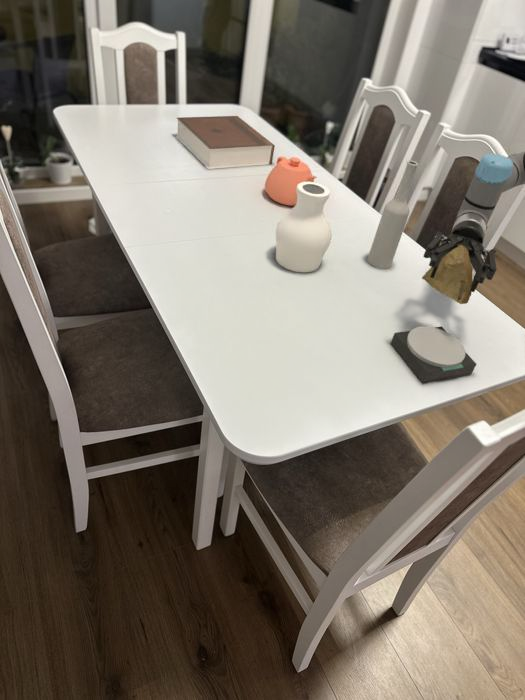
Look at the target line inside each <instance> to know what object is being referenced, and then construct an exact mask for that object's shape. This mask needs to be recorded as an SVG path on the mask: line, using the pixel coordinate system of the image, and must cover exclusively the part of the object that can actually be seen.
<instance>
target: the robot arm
mask: <svg viewBox="0 0 525 700" xmlns="http://www.w3.org/2000/svg"><path fill="white" fill-rule="evenodd" d="M474 171H475V172H474V174H473V176H472V179H471V182H470V184H469V186H468V189H467V191H466V194H465V196H464V198H463V200H462V202H461V205H460V207H459V208H458V211H457V213H456V218H455V221H454V223H453V226H452V229H451V232H450V234H449V235H447V236H445V235H443V232H441V231H436V234H435V236H434V238H433V239H432V240H431V242H430V243H429V244H428V245H427V246H426V248H425V251H424V253H423V256H422V257H423V258H424V259H430V261H429V263H428V266H429V267H430V268H431V267H434V268H433V271H432V273H431V276H430V277H431V278H434V276H435V274H436V271H437V269H438V266H439V264H440V261H441V259H442V258H443V257H444V256H445V255H446V254H447V253H449V252H451V251H452V250H453V249H455V248H456V247H458V246H459V245H463V246H464V247H465V248H466V249H467V250H468V252H469V257H470V264H471V266H472V269H473V270H474V273H475V274H474V276H473V278H472V280H473V283H472V287H471V293H475V291H476V290H477V288H478V286H479V284H480V285H482V284H484V283H485V282H484V281H485V280H486V279H487V280H489V281H492V280H493V278H494V276H495V274H496V272H497V270H498V269H497V263H496V258H495V255H496V253H497V250H496V249H493V248H491V249H488V250H487V249H485V247H484V245H483V244H484V240H485V235H486V232H487V227H488V224H489V221H490V219H491V218H492V216H493V213H494V210H495V209H496V206H497V204H498V202H499V200H500V198H501V196H502V194H503V193H506V192H507V191H509V190H511V189H513V188H516V187H519V186H522V185H525V151H521V152H519V153H514V154H511V155H508V156H505V155H502V154H499V153H485V154H484V155H483V156H482V157H481V159H480V161H479V163H478V165H477V166H476V167H475V170H474ZM444 243H445V244H444ZM442 244H444V245H442ZM439 246H440V247H439Z"/></svg>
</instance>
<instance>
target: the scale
mask: <svg viewBox="0 0 525 700" xmlns="http://www.w3.org/2000/svg"><path fill="white" fill-rule="evenodd" d="M391 338H392V339H391V341H390V344H391V345H392V347H393V348H394V349H395V351H396V352H397V353H398V354H399V356H400V357H401V358H402V359H403V361H404V362H405V363H406V364H407V366H408V367H409V368H410V369H411V371H412V372H413V373H414V375H415V376H416V377H417V379H418V380H419V381H420V382H421V383H422V384H425V383H431V382H435V381H440V380H445V379H447V380H448V379H453V378H458V377H463V376H467V375H468V376H469V375H472V373H473V372H474V370H475V368H476V366H477V365H478V364H477V363H476V361H475V360H474V359H472V358H471V356H470V355H469V354H468V352H466V349H465V346H464V345H463V343H462V342H461V341H460V340H459V339H458V338H457V337H456V336H454V335H453V334H451V333H450V332H448V331H447V329H445V328H444V327H443V326H434V327H433V326H428V325H427V326H417V327H415V328H412V329H411V330H406V331H398V332H394V333H393V336H392V337H391Z"/></svg>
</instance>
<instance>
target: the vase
mask: <svg viewBox="0 0 525 700" xmlns="http://www.w3.org/2000/svg"><path fill="white" fill-rule="evenodd" d="M296 192H297V203H296V205H295V206H293V207H292V208H291V209H290V210H288V211H287V212H285V213H284V214H283V215H282V216H281V218H280V219H279V221H278V222H277V223H276V224H277V225H276V227H275V245H276V246H275V247H276V250H275V260H276V262H277V263H278V265H280V266H282V267H283V268H285V269H287V270H289V271H292V272H296V273H302V274H303V273H311V272H314V271H317V270H318V269H319V268H320V266H321V263H322V260H323V258H324V256H325V254H326V253H327V250H328V248H329V247H330V244H331V242H332V236H333V233H332V229H331V225H330V222H329V220H328V218H327V217H326V215H325V213H324V206H325V204H326V203H327V201H328V199H329V198H330V195H331V191H330V189H329V188H328V187H327V186H325V185H323V184H321V183H319V182H315V181H314V182H302V183H299V184H298V185H297V188H296Z"/></svg>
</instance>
